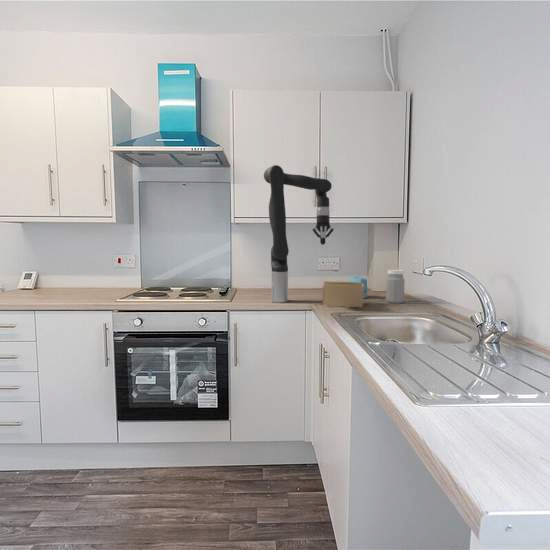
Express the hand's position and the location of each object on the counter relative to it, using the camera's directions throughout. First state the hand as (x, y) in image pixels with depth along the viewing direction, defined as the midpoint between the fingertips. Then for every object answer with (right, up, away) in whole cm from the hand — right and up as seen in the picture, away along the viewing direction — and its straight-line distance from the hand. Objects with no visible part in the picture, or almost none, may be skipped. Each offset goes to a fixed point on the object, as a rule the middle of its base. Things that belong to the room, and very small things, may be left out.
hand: (322, 244), depth 233 cm
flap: (+7, -23, -26) cm, 36 cm away
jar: (+39, -33, -12) cm, 53 cm away
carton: (+9, -34, -18) cm, 40 cm away
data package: (+22, -32, +6) cm, 39 cm away
